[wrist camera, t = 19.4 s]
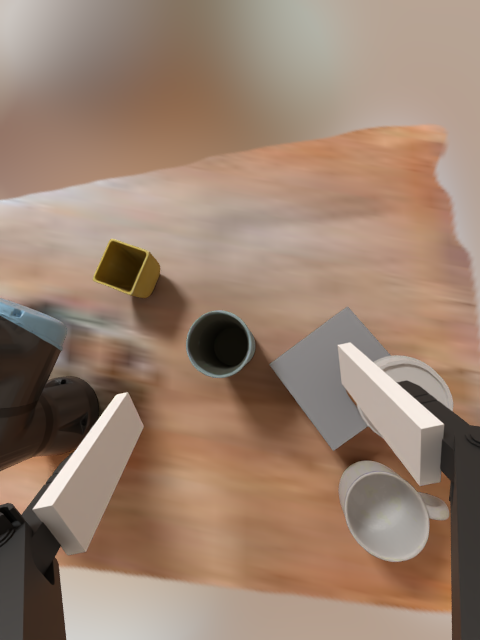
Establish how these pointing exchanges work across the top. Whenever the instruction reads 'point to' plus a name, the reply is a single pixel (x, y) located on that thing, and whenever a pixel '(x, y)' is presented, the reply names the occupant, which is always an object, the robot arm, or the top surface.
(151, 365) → the top surface
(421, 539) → the teacup
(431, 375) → the disposable coffee cup
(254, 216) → the top surface
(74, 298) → the top surface
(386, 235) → the top surface
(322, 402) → the riser block
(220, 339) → the grey-green cup
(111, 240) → the flower pot
